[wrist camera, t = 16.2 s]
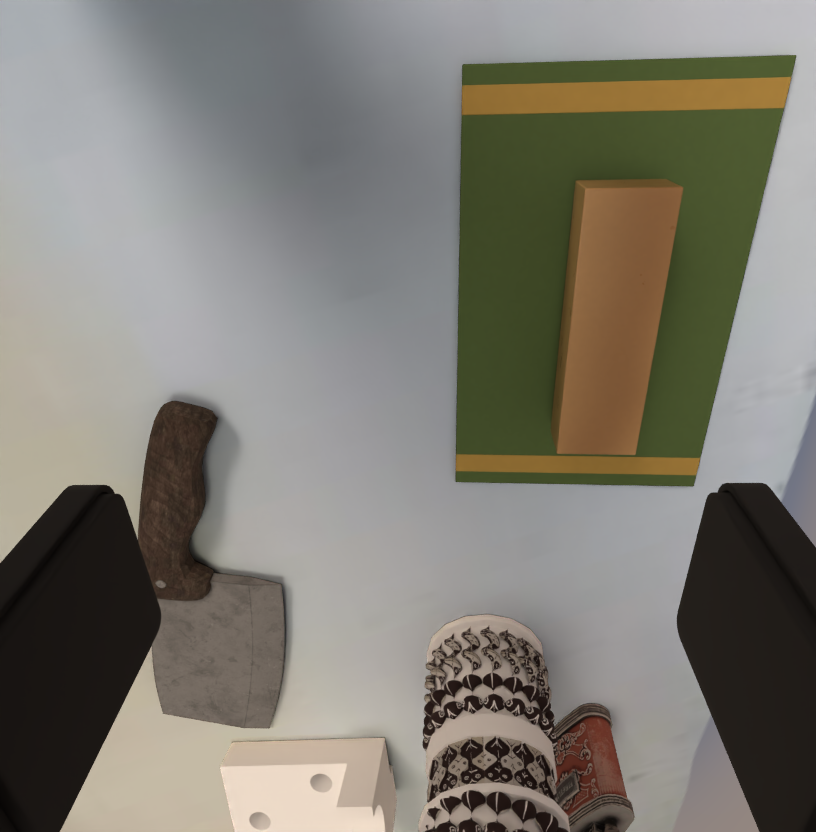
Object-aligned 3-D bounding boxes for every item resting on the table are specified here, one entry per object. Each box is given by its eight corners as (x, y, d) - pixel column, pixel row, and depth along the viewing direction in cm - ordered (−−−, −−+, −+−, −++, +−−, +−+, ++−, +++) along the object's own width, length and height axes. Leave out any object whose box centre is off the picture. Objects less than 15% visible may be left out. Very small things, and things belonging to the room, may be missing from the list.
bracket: (386, 729, 51) (372, 806, 44) (397, 800, 53) (385, 886, 45) (236, 734, 53) (198, 809, 45) (251, 802, 54) (216, 886, 47)
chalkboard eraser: (547, 420, 35) (556, 454, 32) (570, 176, 29) (585, 188, 26) (619, 421, 35) (635, 455, 32) (658, 175, 29) (684, 186, 25)
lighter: (581, 698, 46) (610, 842, 38) (620, 712, 47) (658, 858, 38) (528, 755, 50) (543, 899, 41) (564, 768, 51) (587, 913, 42)
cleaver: (128, 388, 36) (110, 406, 34) (295, 412, 36) (286, 430, 34) (165, 707, 51) (153, 731, 49) (283, 724, 51) (277, 749, 49)
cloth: (462, 64, 27) (462, 64, 27) (793, 55, 26) (797, 55, 26) (455, 479, 38) (455, 482, 37) (692, 483, 37) (693, 486, 37)
